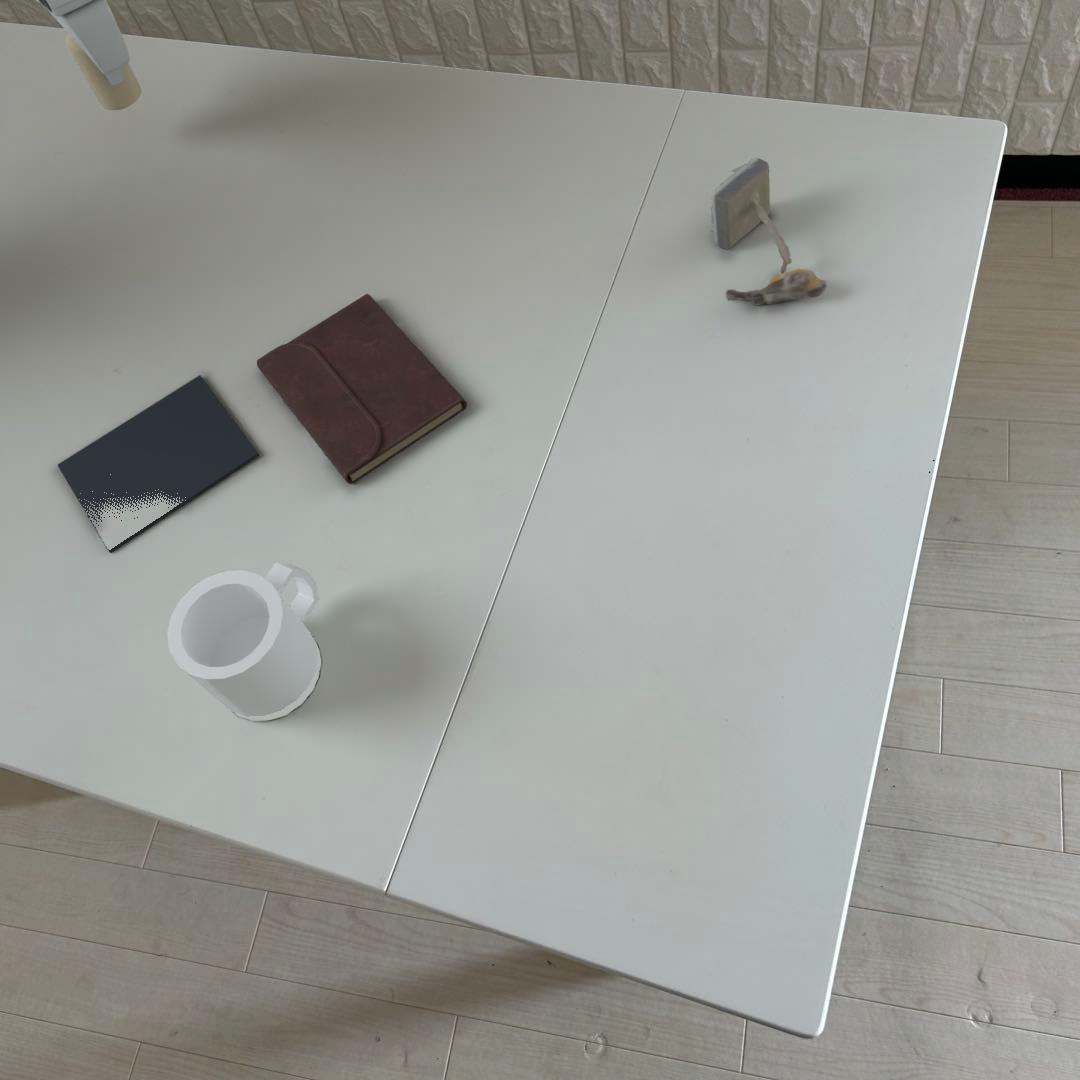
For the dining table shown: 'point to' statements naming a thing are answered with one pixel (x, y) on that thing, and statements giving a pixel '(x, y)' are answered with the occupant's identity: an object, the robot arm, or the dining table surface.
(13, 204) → the dining table surface
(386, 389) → the notebook
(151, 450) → the mat
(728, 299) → the decorative sculpture
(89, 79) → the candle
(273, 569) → the mug
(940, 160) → the dining table surface
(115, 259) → the dining table surface
